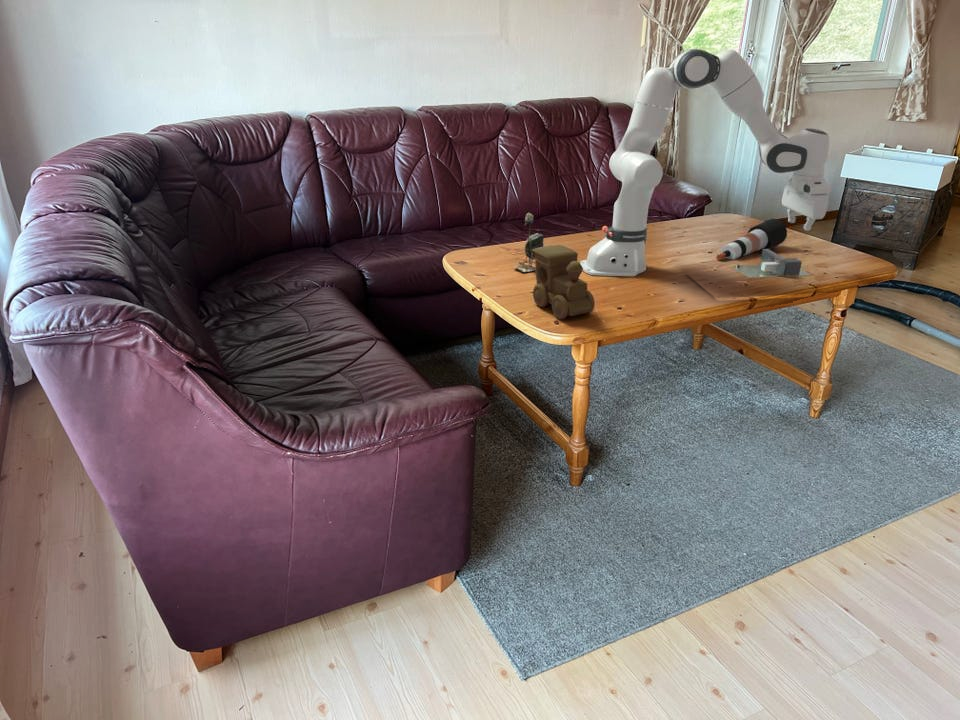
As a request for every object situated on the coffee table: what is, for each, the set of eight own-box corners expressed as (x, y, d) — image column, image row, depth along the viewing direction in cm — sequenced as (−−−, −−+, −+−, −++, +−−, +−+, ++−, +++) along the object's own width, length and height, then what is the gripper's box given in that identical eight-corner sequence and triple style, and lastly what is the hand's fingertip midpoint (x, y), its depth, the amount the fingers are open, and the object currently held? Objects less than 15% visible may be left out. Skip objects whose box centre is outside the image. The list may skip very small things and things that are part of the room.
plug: (764, 274, 222) (767, 263, 220) (759, 270, 226) (761, 259, 224) (799, 273, 223) (801, 261, 222) (793, 269, 227) (795, 258, 225)
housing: (747, 280, 220) (751, 260, 217) (731, 268, 231) (734, 250, 228) (811, 277, 222) (815, 258, 219) (792, 266, 233) (796, 247, 230)
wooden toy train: (527, 301, 203) (529, 248, 196) (558, 295, 208) (561, 243, 201) (564, 324, 187) (567, 267, 180) (597, 317, 192) (602, 261, 185)
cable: (711, 273, 240) (703, 247, 239) (767, 247, 256) (759, 222, 255) (734, 268, 231) (725, 240, 230) (790, 241, 248) (782, 215, 246)
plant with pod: (549, 269, 230) (552, 211, 221) (520, 274, 226) (522, 215, 217) (537, 263, 237) (539, 206, 228) (509, 267, 232) (510, 209, 224)
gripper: (780, 177, 221) (773, 218, 227) (814, 190, 203) (806, 235, 209) (798, 176, 221) (791, 217, 228) (834, 189, 203) (825, 234, 209)
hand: (798, 226), depth 218 cm, fingers open, 8 cm apart
